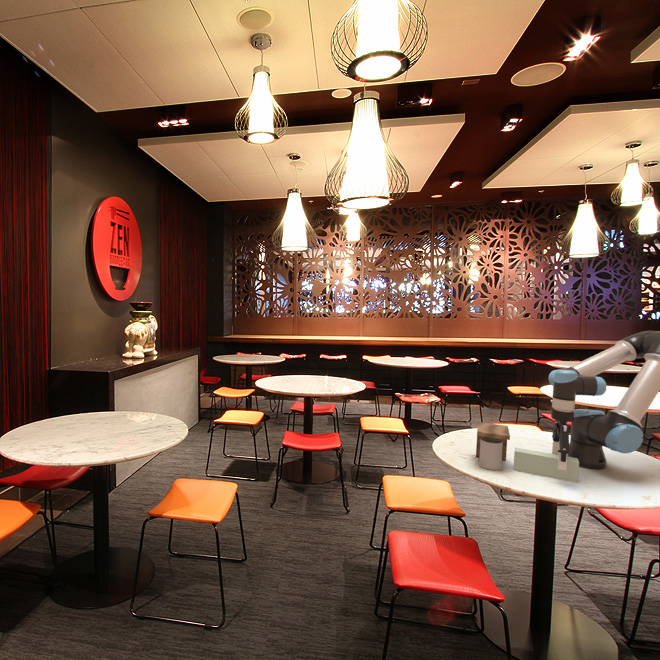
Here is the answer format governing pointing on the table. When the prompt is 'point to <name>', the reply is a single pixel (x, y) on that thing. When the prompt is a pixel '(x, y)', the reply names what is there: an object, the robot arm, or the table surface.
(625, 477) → the table surface
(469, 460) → the table surface
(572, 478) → the pale green block
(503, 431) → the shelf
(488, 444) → the mug
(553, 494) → the table surface
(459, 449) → the table surface
